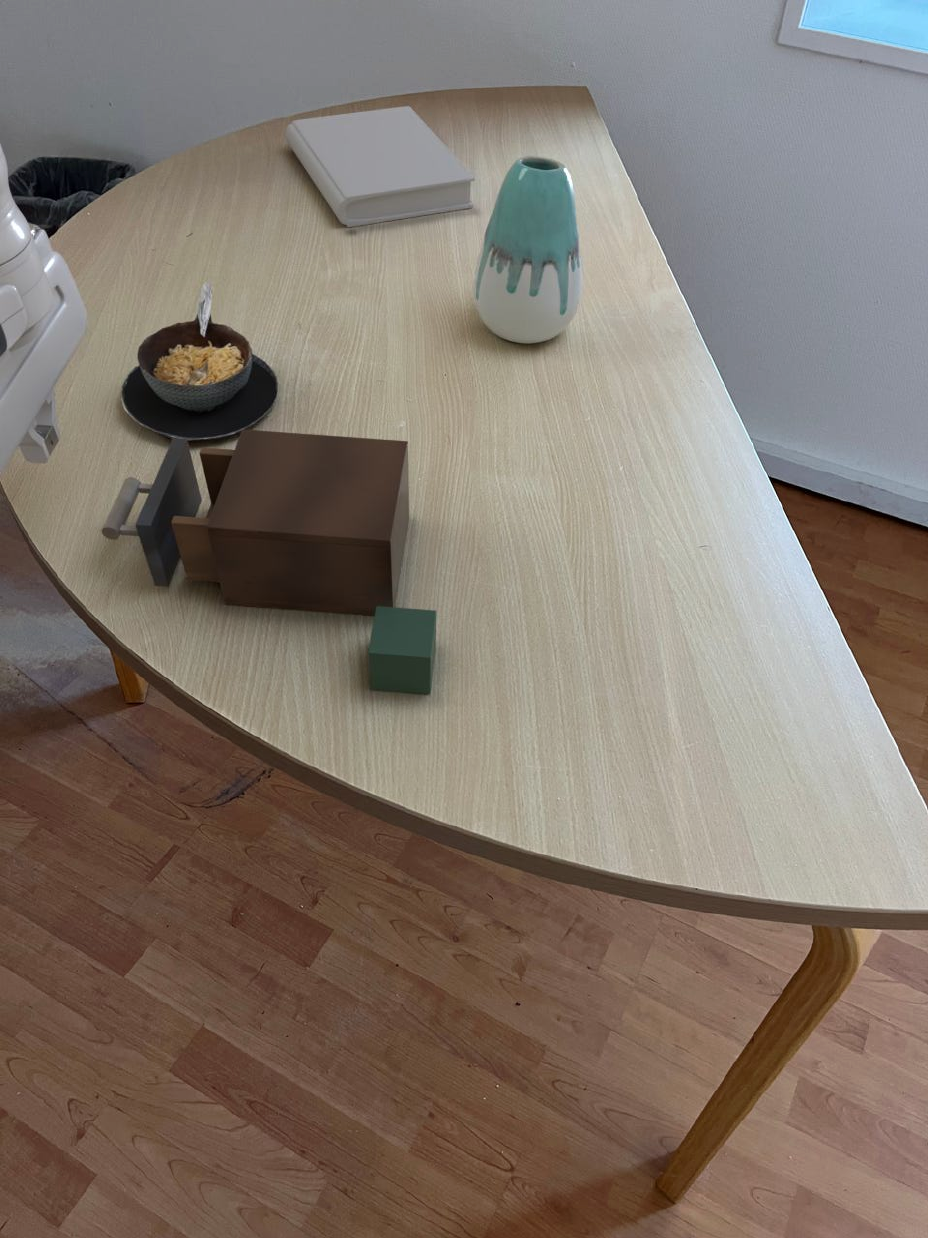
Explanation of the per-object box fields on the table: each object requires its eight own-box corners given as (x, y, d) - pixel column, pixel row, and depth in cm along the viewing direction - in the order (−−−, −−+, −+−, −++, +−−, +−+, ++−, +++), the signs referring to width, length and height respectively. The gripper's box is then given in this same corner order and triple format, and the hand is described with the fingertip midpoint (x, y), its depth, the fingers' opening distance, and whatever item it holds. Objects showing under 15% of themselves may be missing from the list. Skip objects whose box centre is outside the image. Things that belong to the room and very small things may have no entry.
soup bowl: (92, 420, 89) (70, 353, 83) (191, 337, 99) (177, 272, 93) (224, 465, 85) (210, 398, 80) (312, 375, 95) (305, 309, 89)
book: (409, 105, 131) (474, 177, 117) (409, 133, 134) (473, 207, 120) (283, 121, 126) (336, 198, 112) (286, 150, 129) (338, 229, 115)
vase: (527, 288, 108) (543, 125, 94) (598, 332, 102) (625, 166, 88) (450, 320, 103) (454, 153, 89) (519, 369, 97) (535, 199, 83)
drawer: (103, 582, 74) (80, 520, 69) (142, 495, 81) (123, 433, 76) (309, 598, 74) (300, 537, 69) (330, 509, 81) (324, 448, 76)
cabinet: (224, 604, 74) (206, 527, 68) (256, 507, 82) (241, 428, 75) (393, 617, 74) (390, 540, 68) (409, 518, 82) (408, 440, 75)
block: (370, 690, 69) (367, 652, 66) (378, 643, 72) (376, 605, 69) (430, 694, 69) (430, 657, 66) (435, 648, 72) (436, 610, 69)
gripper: (-8, 207, 68) (53, 369, 78) (-148, 372, 54) (-53, 540, 65) (77, 212, 67) (126, 373, 78) (-43, 379, 54) (36, 546, 65)
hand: (44, 450), depth 71 cm, fingers closed
